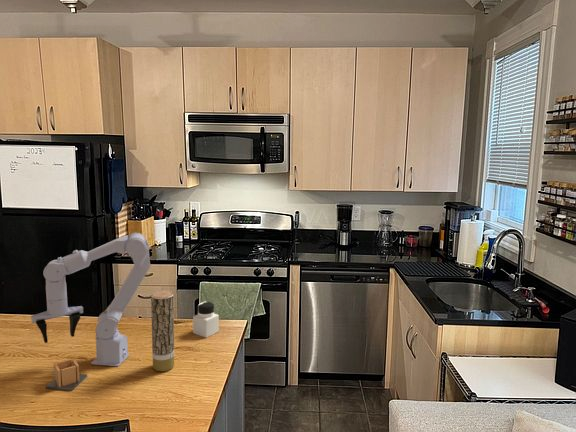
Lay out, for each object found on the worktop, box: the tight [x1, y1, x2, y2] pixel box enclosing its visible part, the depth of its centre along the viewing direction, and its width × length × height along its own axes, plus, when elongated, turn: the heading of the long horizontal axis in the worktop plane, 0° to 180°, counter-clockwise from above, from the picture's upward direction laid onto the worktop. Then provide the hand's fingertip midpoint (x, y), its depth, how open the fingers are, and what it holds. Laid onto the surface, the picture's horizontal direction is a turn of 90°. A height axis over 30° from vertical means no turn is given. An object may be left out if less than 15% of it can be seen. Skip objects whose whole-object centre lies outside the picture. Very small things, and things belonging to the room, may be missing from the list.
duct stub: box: [45, 367, 88, 392], centre depth 128 cm, size 8×8×4 cm
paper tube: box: [150, 289, 175, 372], centre depth 137 cm, size 7×7×25 cm
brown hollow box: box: [53, 358, 80, 387], centre depth 127 cm, size 6×6×5 cm
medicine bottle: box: [192, 301, 220, 338], centre depth 165 cm, size 7×7×12 cm
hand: (59, 338), depth 136 cm, fingers open, 7 cm apart
